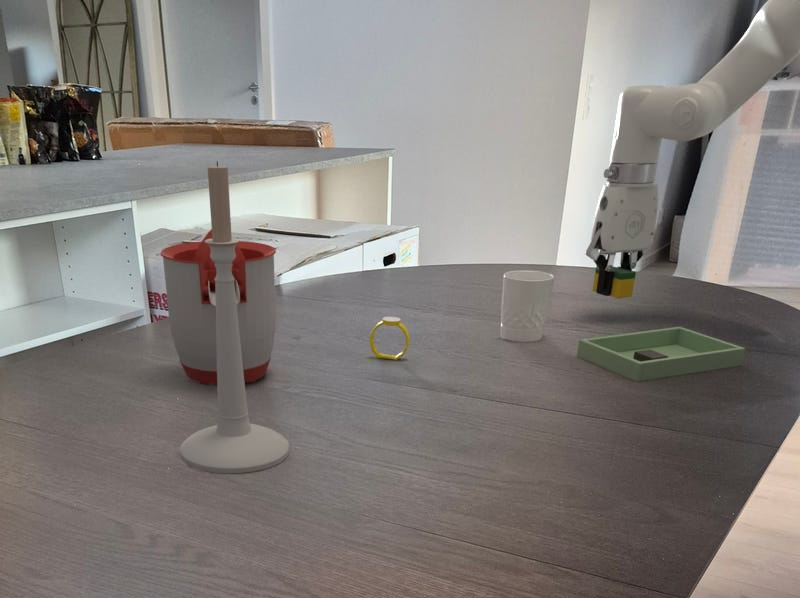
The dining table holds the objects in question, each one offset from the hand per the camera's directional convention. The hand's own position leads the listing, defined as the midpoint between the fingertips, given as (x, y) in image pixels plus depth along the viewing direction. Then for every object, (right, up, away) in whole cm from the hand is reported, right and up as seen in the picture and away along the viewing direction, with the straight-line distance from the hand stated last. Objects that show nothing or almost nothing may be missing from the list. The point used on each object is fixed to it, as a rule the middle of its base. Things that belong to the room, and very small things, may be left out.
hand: (612, 292), depth 149 cm
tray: (0, -19, -21) cm, 28 cm away
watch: (-41, -18, -18) cm, 48 cm away
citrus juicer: (-65, -23, -25) cm, 74 cm away
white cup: (-18, -12, -9) cm, 23 cm away
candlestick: (-62, -39, -49) cm, 88 cm away
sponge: (0, 0, 0) cm, 0 cm away
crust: (-2, -19, -21) cm, 29 cm away
